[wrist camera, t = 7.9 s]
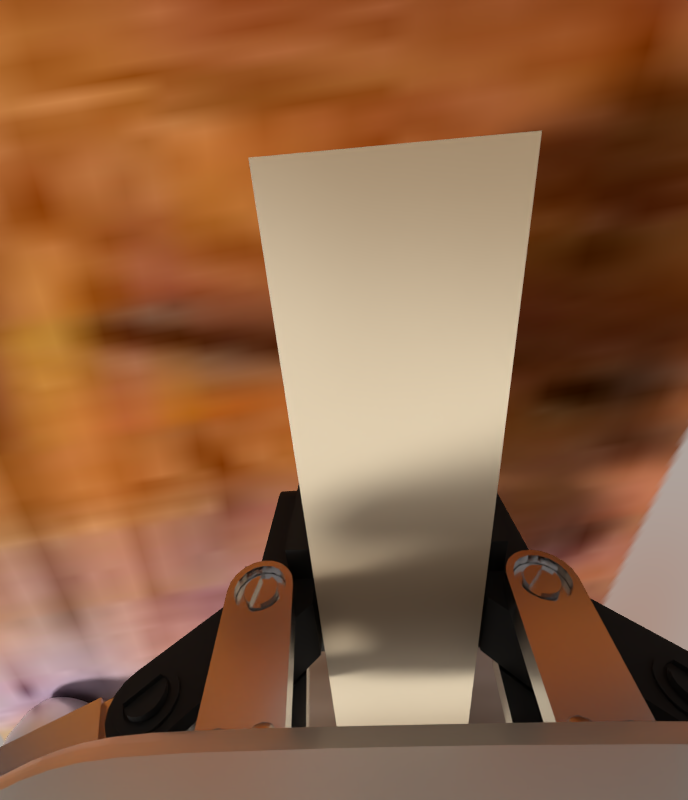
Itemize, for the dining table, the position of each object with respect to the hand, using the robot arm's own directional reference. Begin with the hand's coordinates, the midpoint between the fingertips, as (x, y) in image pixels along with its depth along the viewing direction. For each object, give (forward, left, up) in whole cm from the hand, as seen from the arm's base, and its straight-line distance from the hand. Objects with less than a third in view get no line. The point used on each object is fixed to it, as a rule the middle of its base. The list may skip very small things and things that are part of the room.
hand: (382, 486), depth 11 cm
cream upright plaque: (0, 0, -1) cm, 1 cm away
